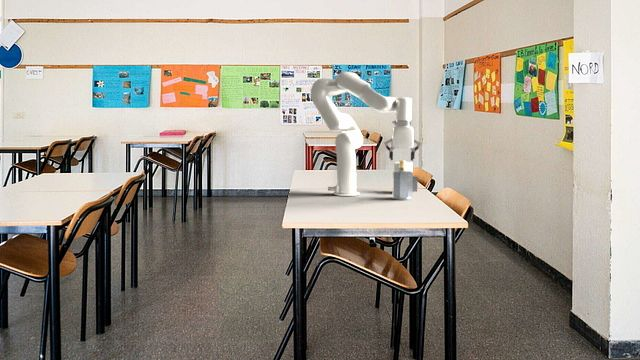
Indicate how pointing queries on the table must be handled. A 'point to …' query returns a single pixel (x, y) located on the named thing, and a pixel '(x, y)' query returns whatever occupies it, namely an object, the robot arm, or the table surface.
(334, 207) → the table surface
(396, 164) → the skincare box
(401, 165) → the plunger
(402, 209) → the table surface
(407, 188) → the pale grey carton
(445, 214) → the table surface
